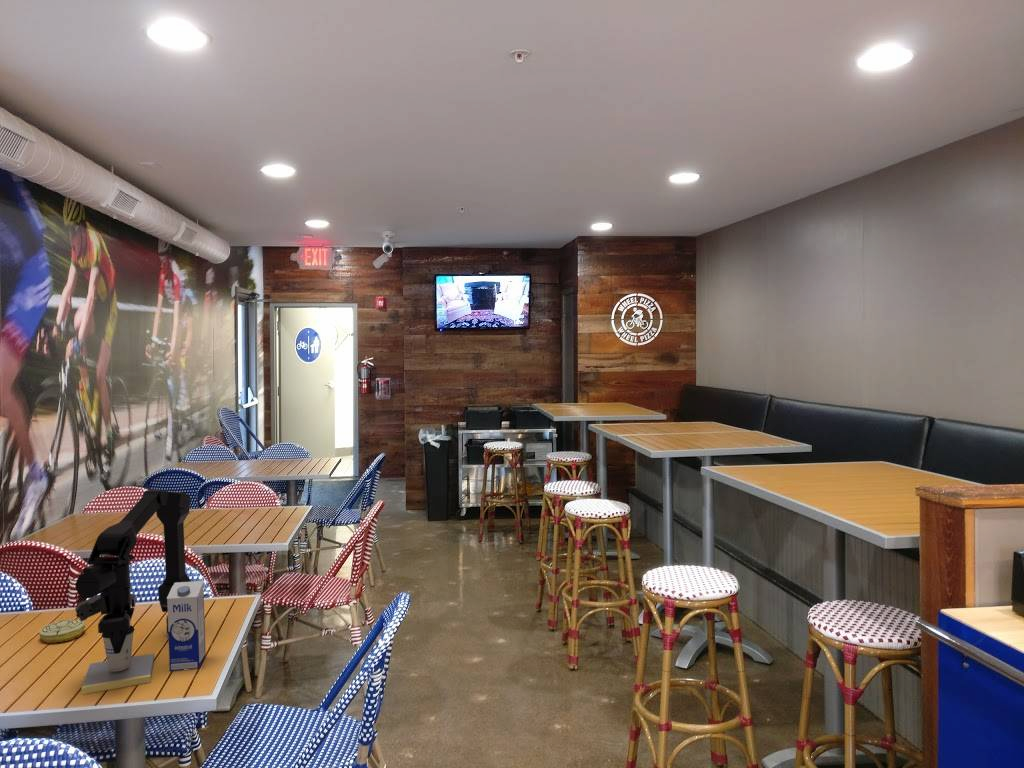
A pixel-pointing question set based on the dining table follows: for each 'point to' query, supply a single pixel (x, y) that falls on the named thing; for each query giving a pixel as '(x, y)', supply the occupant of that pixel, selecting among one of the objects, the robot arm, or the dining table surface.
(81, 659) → the dining table surface
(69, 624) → the decorated donut
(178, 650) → the milk carton
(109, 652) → the coffee cup
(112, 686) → the dock
